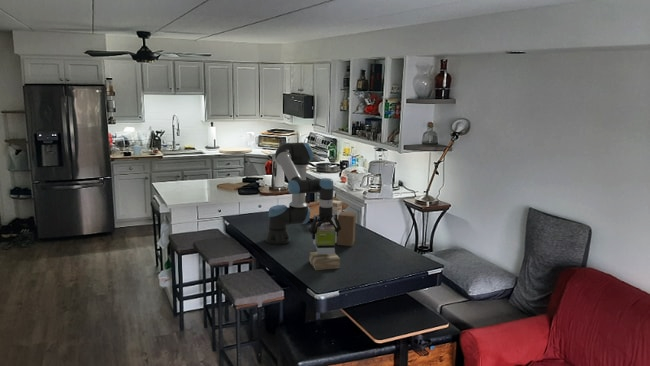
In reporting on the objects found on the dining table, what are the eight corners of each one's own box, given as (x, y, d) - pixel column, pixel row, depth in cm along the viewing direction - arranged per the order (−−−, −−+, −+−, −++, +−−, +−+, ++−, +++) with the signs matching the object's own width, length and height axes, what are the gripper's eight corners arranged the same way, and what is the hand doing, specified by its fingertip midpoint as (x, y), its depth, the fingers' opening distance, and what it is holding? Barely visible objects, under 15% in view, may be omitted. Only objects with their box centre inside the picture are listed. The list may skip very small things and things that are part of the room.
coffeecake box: (341, 227, 363) (342, 201, 359) (336, 229, 357) (337, 203, 353) (323, 224, 370) (324, 198, 367) (318, 226, 364) (319, 200, 361)
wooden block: (352, 246, 321) (353, 216, 317) (337, 245, 323) (338, 215, 319) (354, 241, 331) (355, 212, 327) (339, 240, 333) (340, 211, 329)
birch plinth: (309, 262, 292) (309, 252, 291) (332, 260, 296) (332, 250, 295) (315, 270, 279) (316, 260, 278) (339, 268, 283) (340, 258, 282)
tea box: (314, 245, 293) (315, 221, 290) (332, 245, 294) (332, 221, 291) (317, 254, 278) (317, 228, 275) (335, 254, 279) (335, 228, 276)
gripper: (308, 209, 273) (308, 247, 277) (347, 206, 283) (346, 242, 287) (303, 206, 279) (302, 243, 283) (341, 203, 289) (340, 239, 294)
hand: (324, 243), depth 285 cm, fingers closed on tea box, 12 cm apart
